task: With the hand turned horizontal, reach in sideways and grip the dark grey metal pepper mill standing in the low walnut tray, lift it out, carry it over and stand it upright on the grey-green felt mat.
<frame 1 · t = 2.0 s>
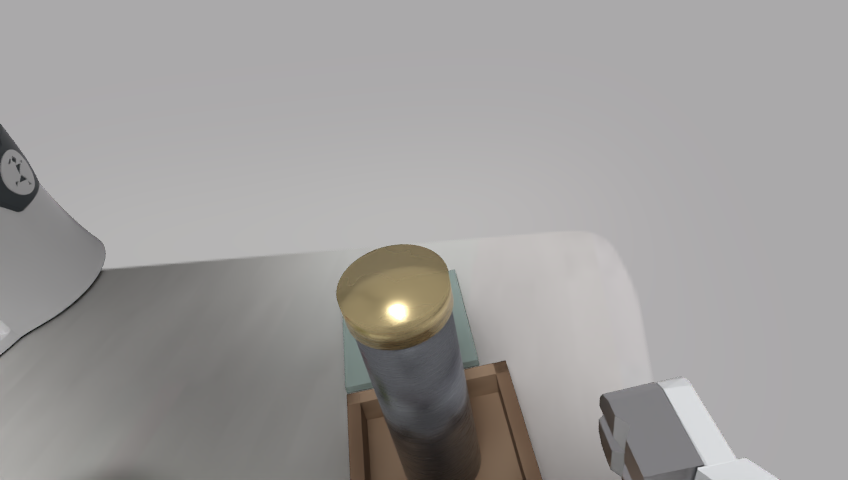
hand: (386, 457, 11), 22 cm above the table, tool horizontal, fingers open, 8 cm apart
pepper mill: (442, 460, 34), point 1 cm above the table, touching tray
tray: (443, 465, 34), on the table
mat: (405, 329, 43), on the table
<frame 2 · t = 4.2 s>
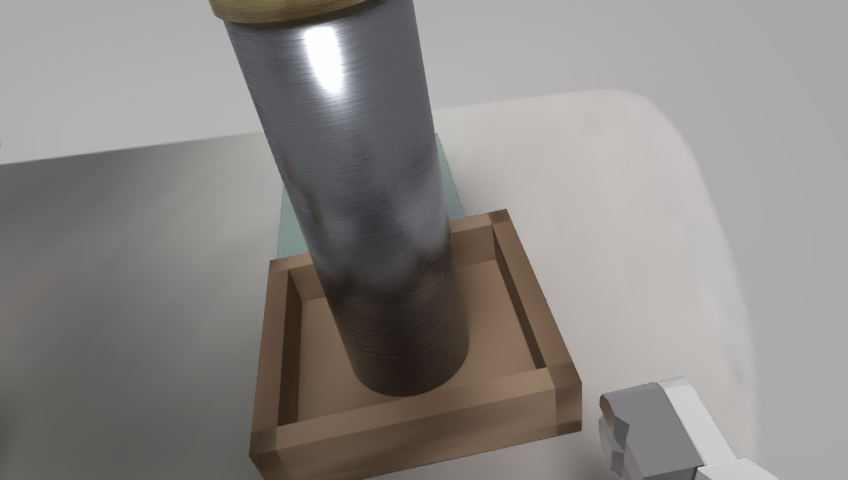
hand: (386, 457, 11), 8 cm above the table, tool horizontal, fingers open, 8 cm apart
pepper mill: (409, 345, 22), point 1 cm above the table, touching tray
tray: (412, 356, 22), on the table
mat: (368, 201, 31), on the table
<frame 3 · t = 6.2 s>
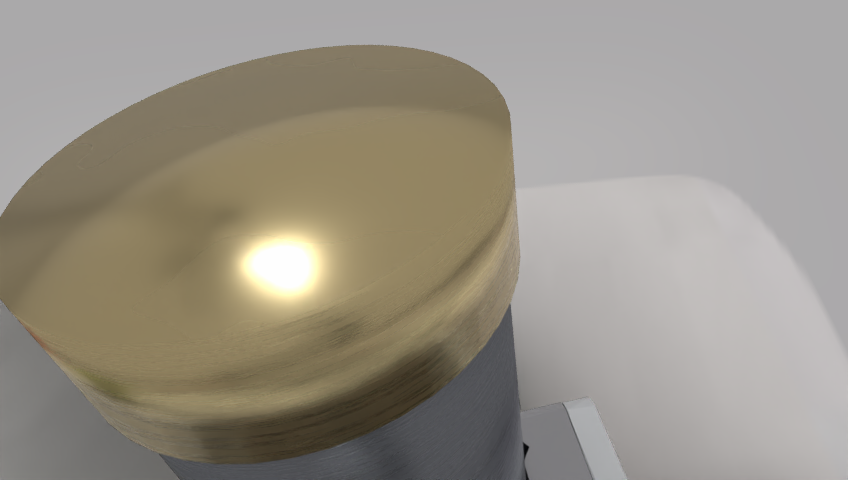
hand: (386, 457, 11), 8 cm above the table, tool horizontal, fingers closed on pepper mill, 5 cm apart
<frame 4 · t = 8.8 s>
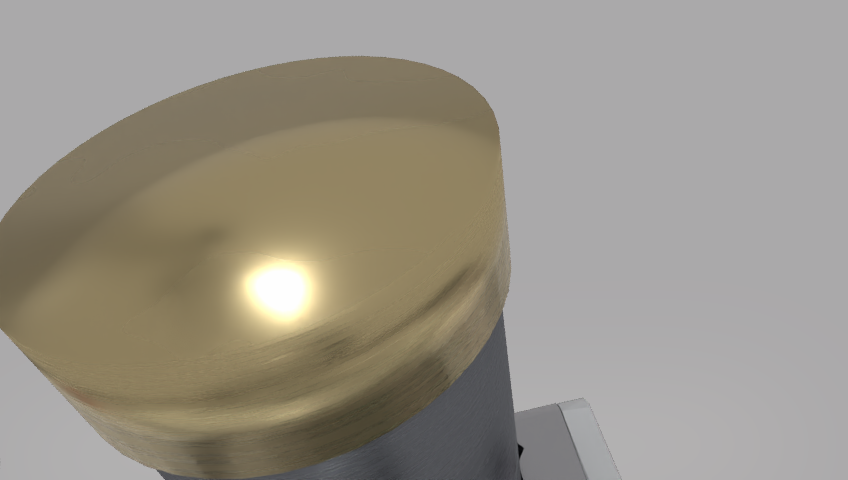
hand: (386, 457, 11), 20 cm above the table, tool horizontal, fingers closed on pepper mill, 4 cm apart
when the fingers open (10 cm above the table, at t = 11.2 s): pepper mill drops 1 cm, resting on mat.
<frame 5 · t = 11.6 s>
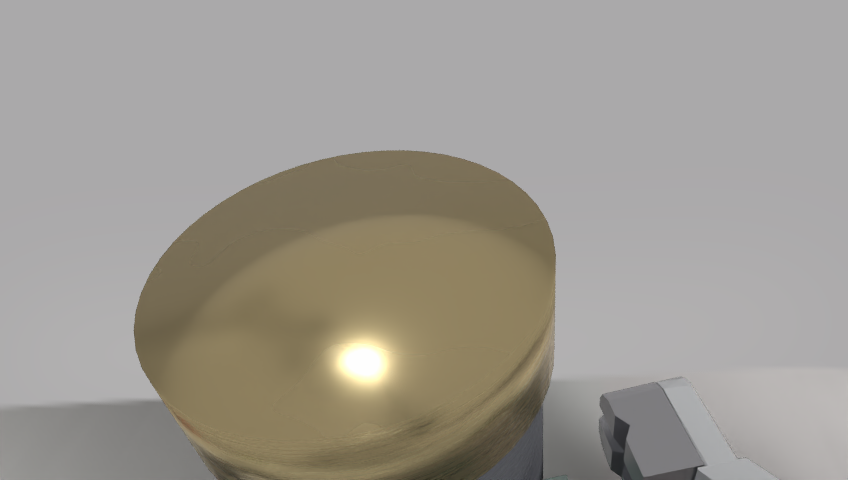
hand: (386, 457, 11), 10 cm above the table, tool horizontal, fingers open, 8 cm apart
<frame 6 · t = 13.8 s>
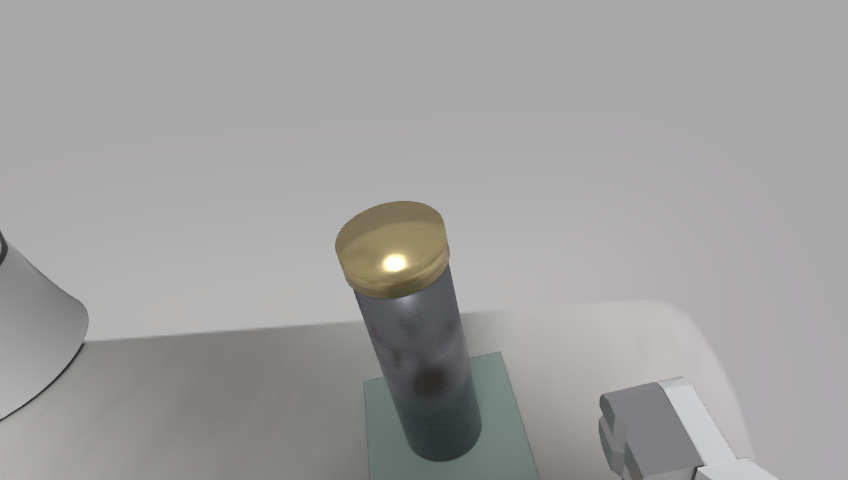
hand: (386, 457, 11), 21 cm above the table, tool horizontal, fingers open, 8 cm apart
pepper mill: (443, 426, 34), point 1 cm above the table, touching mat
mat: (444, 431, 35), on the table
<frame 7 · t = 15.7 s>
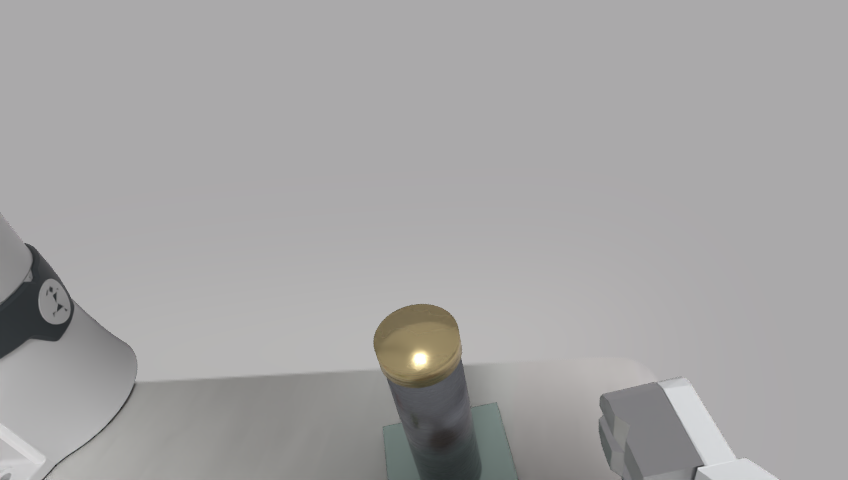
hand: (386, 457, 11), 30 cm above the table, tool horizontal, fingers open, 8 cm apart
pepper mill: (450, 468, 42), point 1 cm above the table, touching mat
mat: (450, 472, 42), on the table
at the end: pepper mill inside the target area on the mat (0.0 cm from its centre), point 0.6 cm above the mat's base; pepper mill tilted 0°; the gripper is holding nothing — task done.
